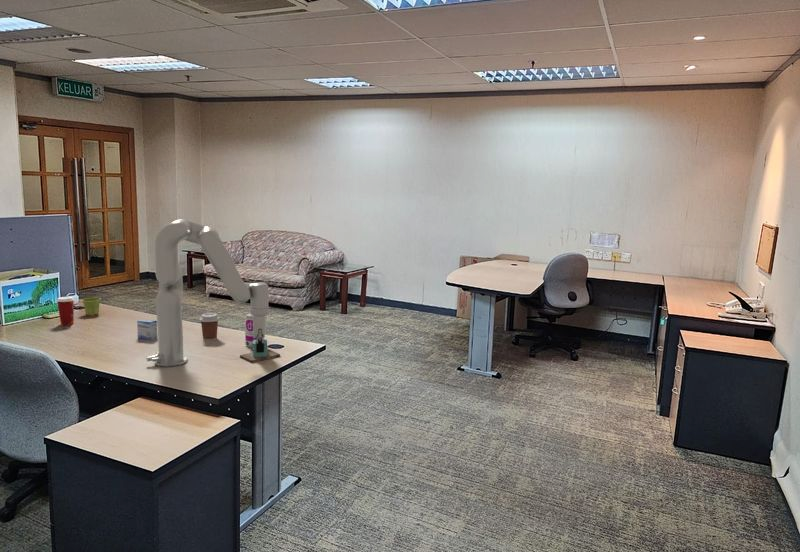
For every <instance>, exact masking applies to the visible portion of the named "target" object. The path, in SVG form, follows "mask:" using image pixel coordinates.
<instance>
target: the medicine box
mask: <svg viewBox="0 0 800 552" xmlns="http://www.w3.org/2000/svg"><path fill="white" fill-rule="evenodd" d="M136 321H137V322H136V323H137V325H136V326H137V338H138V339H141V338H142V340H154V339H155V340H156V339H158V327H157V320H155V319H154V320H153V319H145V318H144V319H143V318H142V319H139V320H136Z"/></svg>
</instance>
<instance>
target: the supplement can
mask: <svg viewBox="0 0 800 552" xmlns="http://www.w3.org/2000/svg"><path fill="white" fill-rule="evenodd" d="M245 315H246V316H245V317H244V329H245V330H244V332H245V339H244V341H245V342H244V343H245V345H246V346H247V347H248V348H253V340H256V338H253V316H252V315H251V312H248V313H246V314H245Z"/></svg>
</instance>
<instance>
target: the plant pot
mask: <svg viewBox="0 0 800 552" xmlns="http://www.w3.org/2000/svg"><path fill="white" fill-rule="evenodd" d="M101 301H102V298H101V297H87V298H83V299H81V302H82V304H83V307H84V311H85V312H84V313H85V314H87V315H86V316H90V315H91V316H96V315H99V314H100V313H99V312H100V303H101ZM98 313H99V314H98ZM95 314H96V315H95Z"/></svg>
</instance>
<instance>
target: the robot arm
mask: <svg viewBox="0 0 800 552" xmlns="http://www.w3.org/2000/svg"><path fill="white" fill-rule="evenodd" d="M183 241H185V242H188V243H189V242H190V243H192V244H196V245H199V247H200V249H201V250H202V252H203V253H204V255H205V256H206V257H207V259H208V261H209V263H210V264H211V266H212V268H213V269H214V271H215V272H216V274H217V275H218V277H219V279H220V281H221V283H222V284H223V286H224V287H225V289H226V290H227V292H228V294H229V295H230V297H231V298H232V300H233V301H235V302H236V303H239V304H243V303H247V302H248V301H249V300H250V313H251V315H252V316H253V338H256V340H257V343H256V352H257V353H261V352H264V343H263V340H264V339H265V337H266V331H267V330H266V327H267V324H266V323H267V322H266V321H267V316H268V315H269V314H270V313H269V312H270V311H269V285H268V283H266V282H261V281H260V282H258V281H257V282H245V281H244V280H243V278H242V276H241V275H240V273H239V271H238V269H237V267H236V264H235V261H234V259H233V257H232V255H231V254H230V253H229V251H228V249H227V248H226V246H225V245H224V243H223V241H222V240H221V238H220V235H219V233H218V231H217V230H216V229H215V228H212V227H210V226H207V225H202V224H199V223H197V222H193V221H190V220H186V219H182V218H181V219H180V218H179V219H175V220H174V221H172V222H169V223H167V224H166V225H165V226H163V227H162V228H161V229H160V230H159V231H158V233H157V234H156V237H155V242H154V247H155V248H154V250H155V251H154V254H155V255H154V256H155V257H154V259H155V277H156V278H155V279H156V280H157V282H158V290H159V291H158V293H157V295H156V298H155V311H156V312H155V313H156V321H157V343H158V351H157V352H156V354H154V355H149V356H146V362H153V363H154V364H155V365H156V366H158V367H177V366H181V365H184V364H185V363H187V362H188V357H187V356H185V355H184V339H183V338H184V336H183V334H184V332H183V314H182V313H183V312H182V301H183V298H184V283H183V282H184V281H183V280H184V279H183V269H182V266H181V265H180V263H179V251H178V247H179V244H180V243H181V242H183Z"/></svg>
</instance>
